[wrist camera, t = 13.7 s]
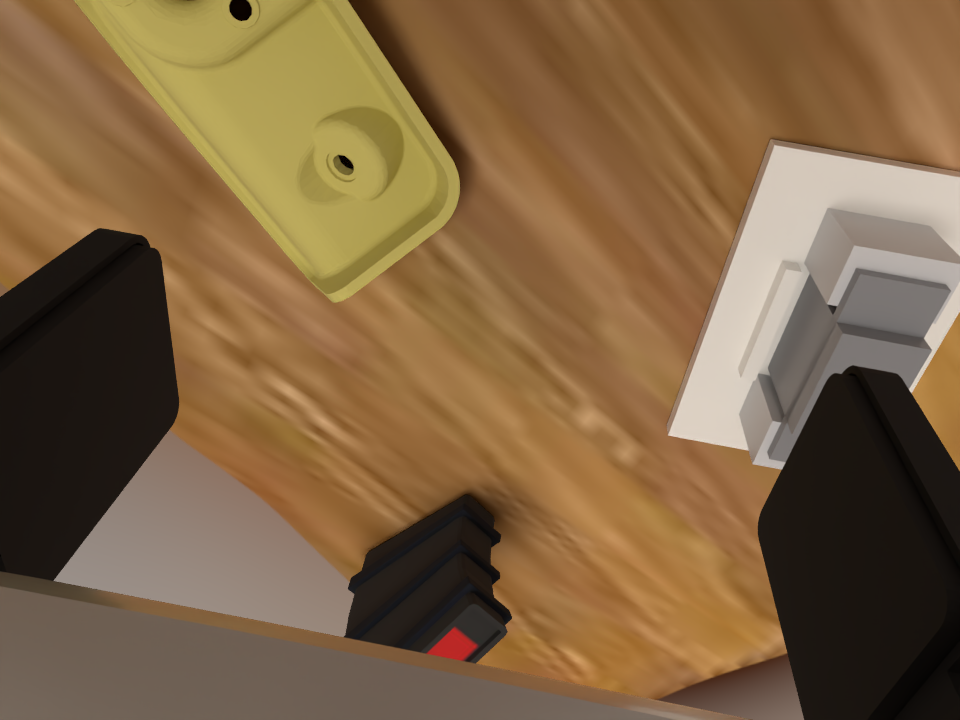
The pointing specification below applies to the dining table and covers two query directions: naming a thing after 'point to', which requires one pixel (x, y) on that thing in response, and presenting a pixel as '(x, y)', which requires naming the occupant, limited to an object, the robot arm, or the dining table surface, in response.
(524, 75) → the dining table surface
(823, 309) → the servo
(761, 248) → the cradle
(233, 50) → the plastic component
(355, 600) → the black ridged block
